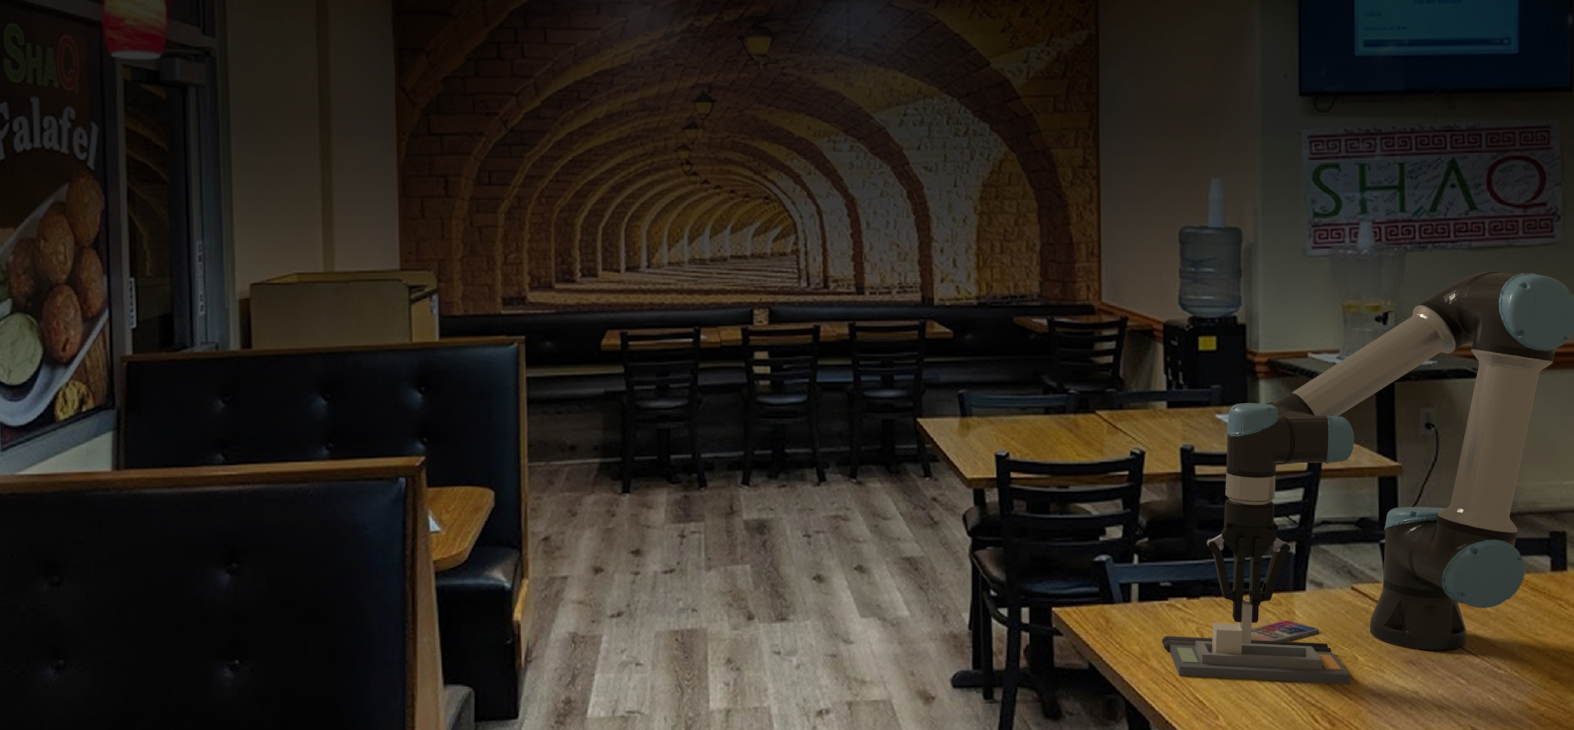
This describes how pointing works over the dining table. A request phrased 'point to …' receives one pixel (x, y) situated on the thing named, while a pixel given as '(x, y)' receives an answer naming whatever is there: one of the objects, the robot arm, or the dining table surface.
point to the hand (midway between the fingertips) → (1244, 641)
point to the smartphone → (1282, 631)
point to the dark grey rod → (1251, 641)
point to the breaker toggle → (1227, 638)
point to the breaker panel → (1260, 663)
